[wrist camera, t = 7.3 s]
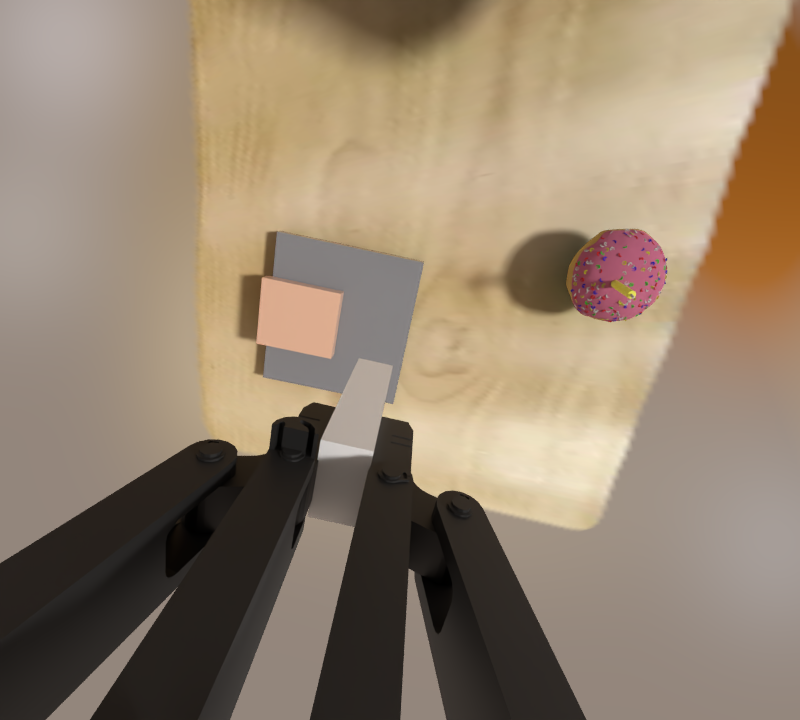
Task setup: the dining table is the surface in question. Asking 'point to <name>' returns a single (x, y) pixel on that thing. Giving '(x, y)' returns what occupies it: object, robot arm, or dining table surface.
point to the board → (348, 309)
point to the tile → (299, 316)
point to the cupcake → (616, 275)
